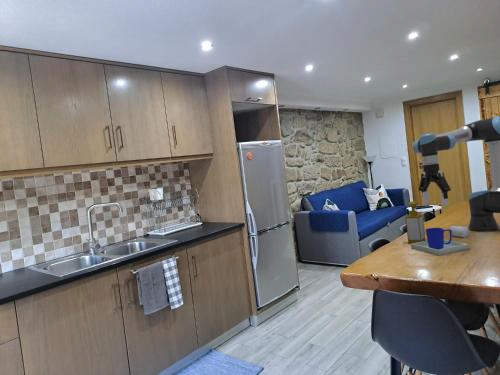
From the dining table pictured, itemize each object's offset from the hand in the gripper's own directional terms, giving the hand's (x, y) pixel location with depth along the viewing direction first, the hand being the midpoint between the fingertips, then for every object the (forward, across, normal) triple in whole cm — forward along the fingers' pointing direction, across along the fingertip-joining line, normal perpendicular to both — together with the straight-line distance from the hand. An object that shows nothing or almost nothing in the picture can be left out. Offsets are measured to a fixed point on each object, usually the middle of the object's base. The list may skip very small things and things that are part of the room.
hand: (435, 204), depth 189 cm
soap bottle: (+23, -20, +2) cm, 31 cm away
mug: (+22, +2, -2) cm, 23 cm away
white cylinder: (+20, -10, +25) cm, 34 cm away
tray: (+23, +1, -2) cm, 23 cm away
